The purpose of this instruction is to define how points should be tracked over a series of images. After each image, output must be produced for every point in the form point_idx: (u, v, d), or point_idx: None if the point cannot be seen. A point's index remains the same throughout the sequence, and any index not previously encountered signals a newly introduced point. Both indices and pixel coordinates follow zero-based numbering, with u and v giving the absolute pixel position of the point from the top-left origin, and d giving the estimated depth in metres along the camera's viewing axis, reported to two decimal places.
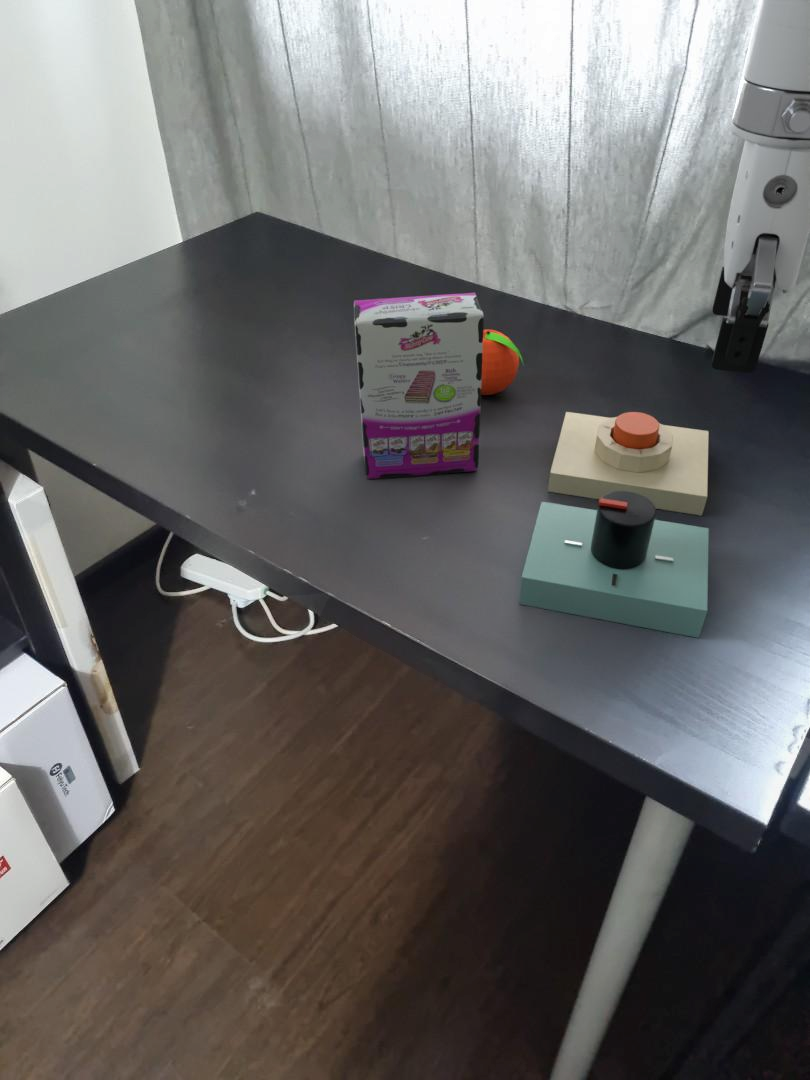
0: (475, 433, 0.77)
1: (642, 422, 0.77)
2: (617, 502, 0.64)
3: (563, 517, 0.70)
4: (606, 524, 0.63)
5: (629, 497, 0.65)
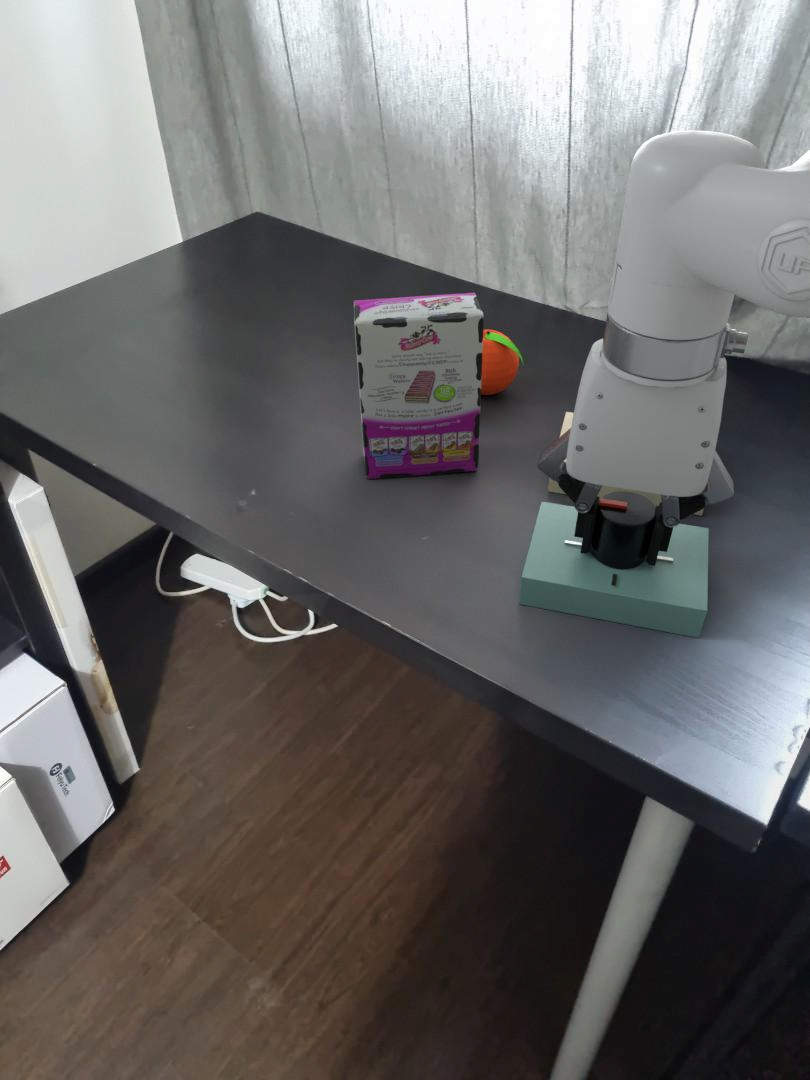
0: (475, 433, 0.77)
1: None
2: (617, 502, 0.64)
3: (563, 517, 0.70)
4: (606, 524, 0.63)
5: (629, 497, 0.65)
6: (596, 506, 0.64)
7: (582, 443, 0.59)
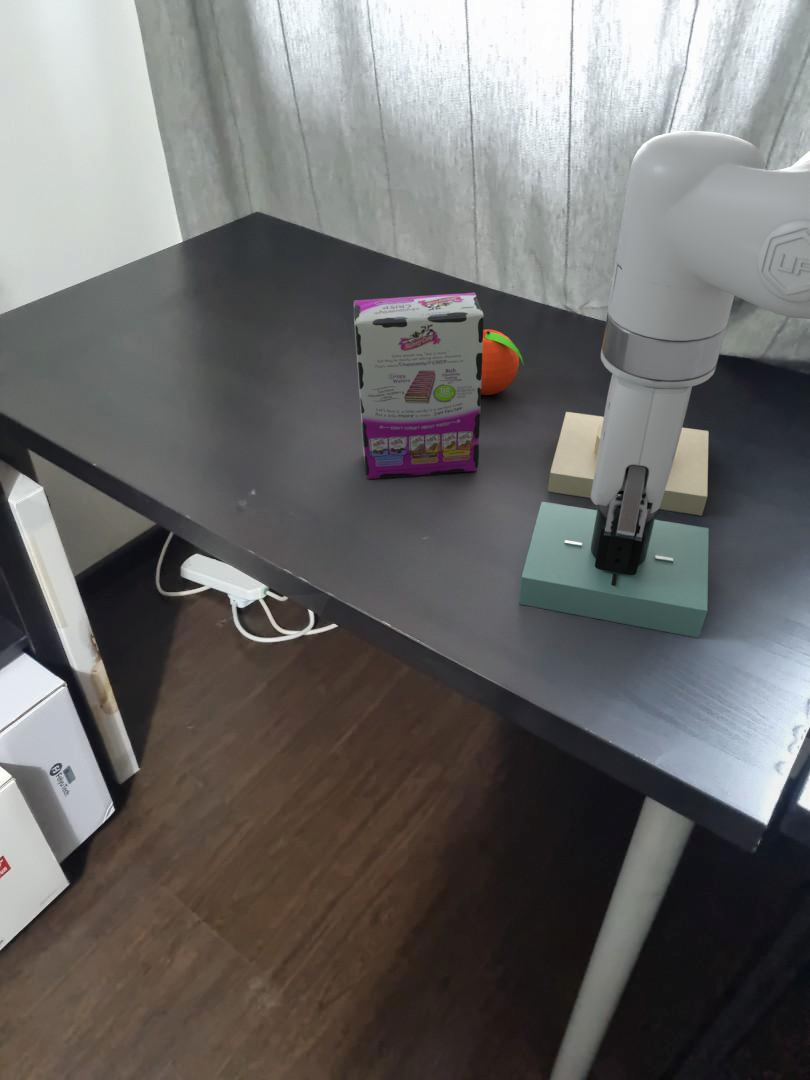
0: (475, 433, 0.77)
1: None
2: None
3: (563, 517, 0.70)
4: (648, 527, 0.63)
5: (608, 504, 0.64)
6: None
7: (669, 471, 0.56)
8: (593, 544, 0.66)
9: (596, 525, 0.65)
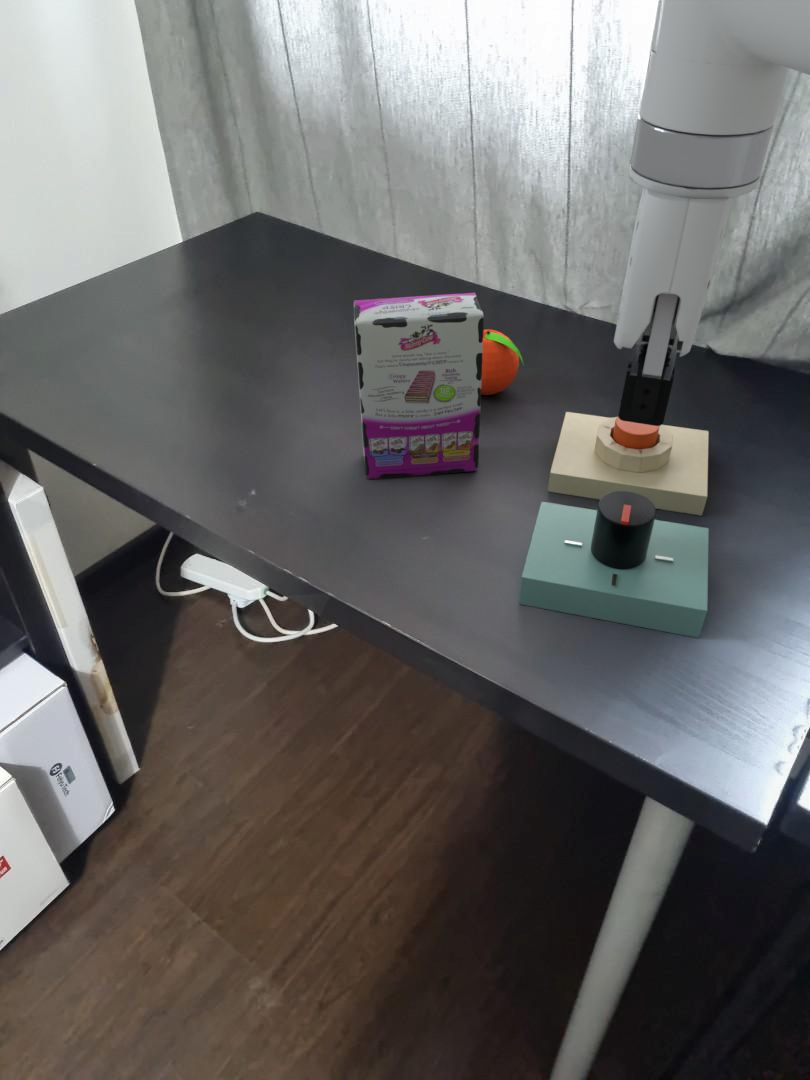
0: (475, 433, 0.77)
1: None
2: (626, 510, 0.63)
3: (563, 517, 0.70)
4: (647, 528, 0.63)
5: (608, 503, 0.64)
6: None
7: (703, 304, 0.50)
8: (593, 544, 0.66)
9: (596, 525, 0.65)
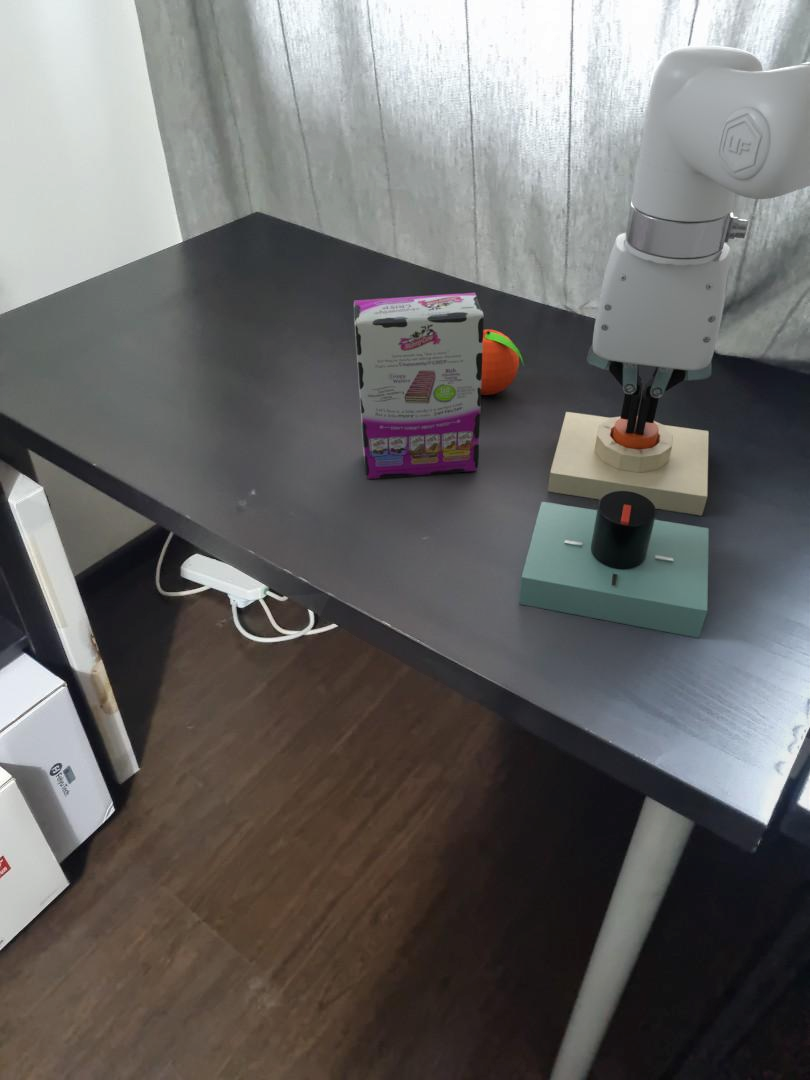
0: (475, 433, 0.77)
1: None
2: (626, 510, 0.63)
3: (563, 517, 0.70)
4: (647, 528, 0.63)
5: (608, 503, 0.64)
6: (640, 389, 0.75)
7: (607, 322, 0.69)
8: (593, 544, 0.66)
9: (596, 525, 0.65)
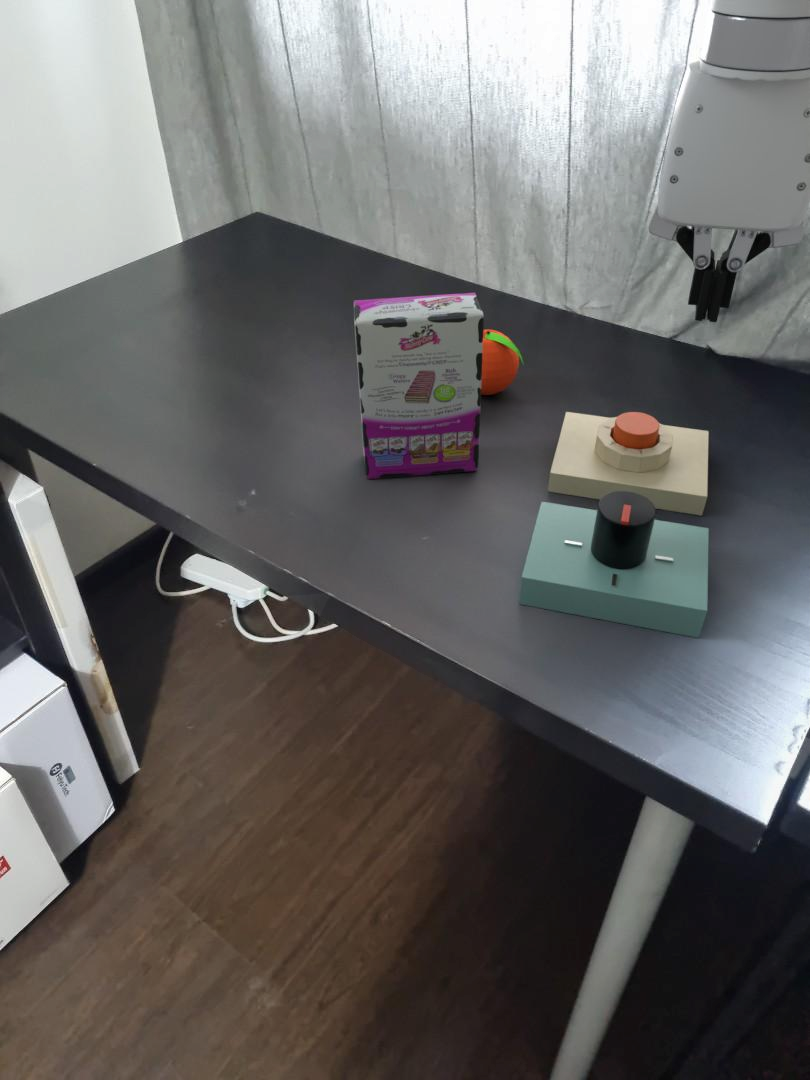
0: (475, 433, 0.77)
1: (642, 422, 0.77)
2: (626, 510, 0.63)
3: (563, 517, 0.70)
4: (647, 528, 0.63)
5: (608, 503, 0.64)
6: (713, 265, 0.62)
7: (677, 172, 0.57)
8: (593, 544, 0.66)
9: (596, 525, 0.65)
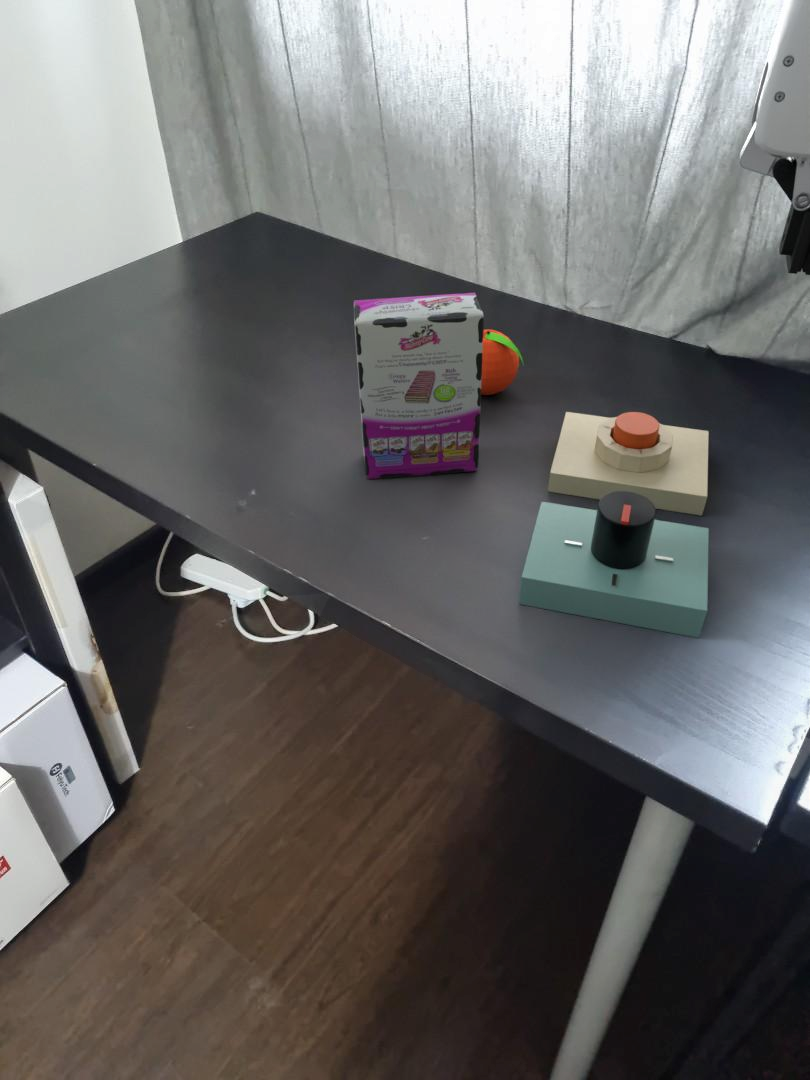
0: (475, 433, 0.77)
1: (642, 422, 0.77)
2: (626, 510, 0.63)
3: (563, 517, 0.70)
4: (647, 528, 0.63)
5: (608, 503, 0.64)
6: None
7: (784, 88, 0.47)
8: (593, 544, 0.66)
9: (596, 525, 0.65)
